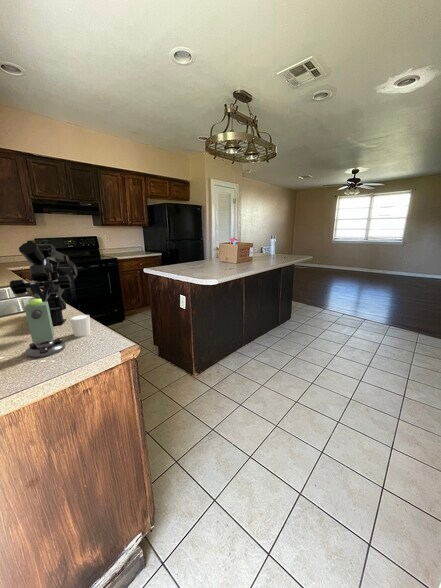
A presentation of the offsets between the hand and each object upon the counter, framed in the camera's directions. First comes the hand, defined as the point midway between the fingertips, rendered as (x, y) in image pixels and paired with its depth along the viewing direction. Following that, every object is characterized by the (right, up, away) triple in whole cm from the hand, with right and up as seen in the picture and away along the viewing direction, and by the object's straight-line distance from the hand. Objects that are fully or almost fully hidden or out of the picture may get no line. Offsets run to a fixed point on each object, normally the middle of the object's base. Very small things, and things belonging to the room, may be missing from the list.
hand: (43, 303), depth 92 cm
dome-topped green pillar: (+6, -13, -8) cm, 17 cm away
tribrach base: (+6, -16, -8) cm, 19 cm away
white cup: (+11, -13, +6) cm, 18 cm away
